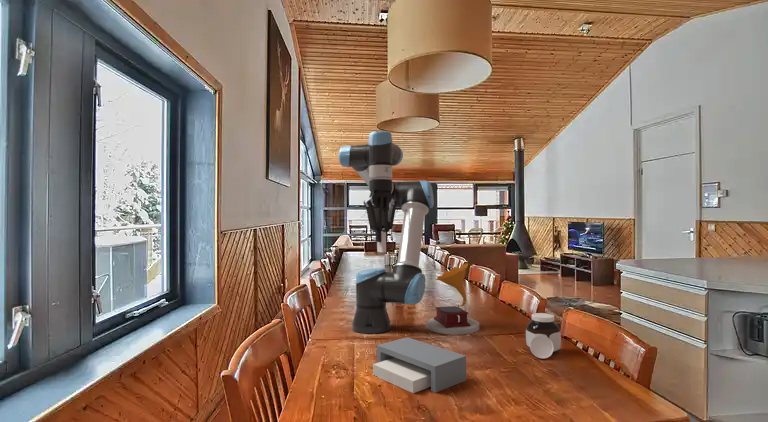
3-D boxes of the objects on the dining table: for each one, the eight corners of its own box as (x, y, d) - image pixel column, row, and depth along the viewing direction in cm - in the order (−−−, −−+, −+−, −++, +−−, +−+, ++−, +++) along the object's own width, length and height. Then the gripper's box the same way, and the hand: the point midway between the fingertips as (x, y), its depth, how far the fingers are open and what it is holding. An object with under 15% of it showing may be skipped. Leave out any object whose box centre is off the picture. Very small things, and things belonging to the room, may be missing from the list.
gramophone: (466, 319, 177) (465, 260, 177) (488, 332, 157) (487, 265, 157) (420, 322, 173) (419, 262, 173) (436, 336, 153) (435, 267, 153)
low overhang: (377, 367, 122) (376, 345, 122) (407, 358, 129) (407, 337, 129) (435, 392, 104) (435, 366, 104) (466, 380, 112) (466, 355, 112)
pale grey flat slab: (373, 375, 116) (373, 364, 116) (399, 366, 122) (399, 356, 123) (413, 393, 104) (413, 381, 104) (440, 382, 110) (440, 371, 110)
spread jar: (551, 347, 139) (550, 311, 139) (571, 358, 128) (571, 320, 128) (517, 349, 137) (516, 313, 137) (535, 361, 126) (535, 322, 126)
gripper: (372, 177, 129) (373, 254, 129) (403, 179, 137) (404, 251, 137) (357, 179, 135) (358, 252, 134) (388, 181, 143) (389, 250, 143)
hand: (381, 251), depth 136 cm, fingers closed
